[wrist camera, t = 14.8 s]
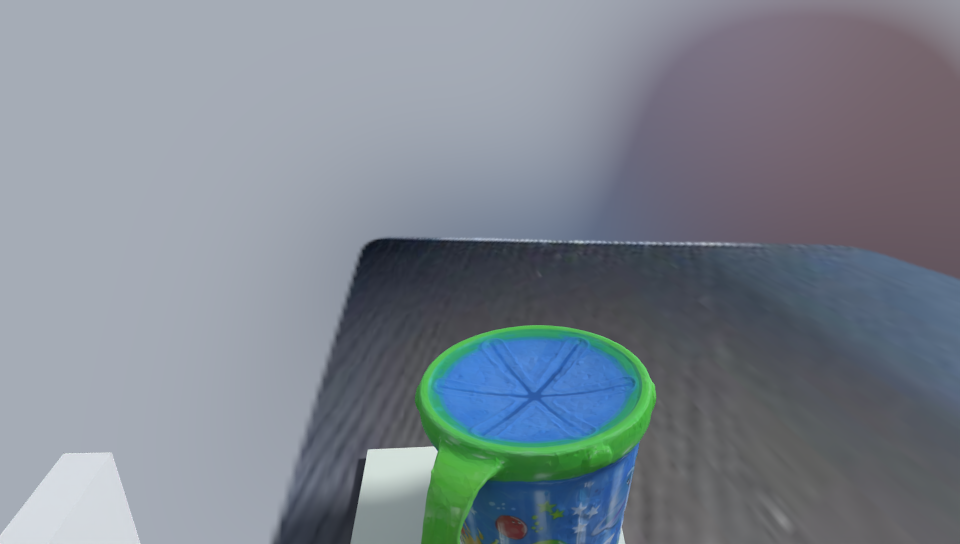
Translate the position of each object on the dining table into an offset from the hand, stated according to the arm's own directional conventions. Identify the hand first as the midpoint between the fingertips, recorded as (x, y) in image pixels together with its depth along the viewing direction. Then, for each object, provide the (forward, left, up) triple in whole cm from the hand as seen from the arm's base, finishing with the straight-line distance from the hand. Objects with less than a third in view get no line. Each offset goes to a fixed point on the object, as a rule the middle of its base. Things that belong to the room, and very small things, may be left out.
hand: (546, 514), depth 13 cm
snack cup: (-12, -20, -23) cm, 32 cm away
